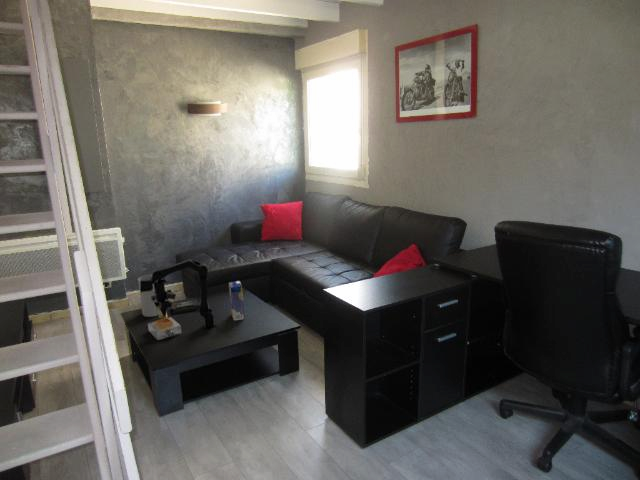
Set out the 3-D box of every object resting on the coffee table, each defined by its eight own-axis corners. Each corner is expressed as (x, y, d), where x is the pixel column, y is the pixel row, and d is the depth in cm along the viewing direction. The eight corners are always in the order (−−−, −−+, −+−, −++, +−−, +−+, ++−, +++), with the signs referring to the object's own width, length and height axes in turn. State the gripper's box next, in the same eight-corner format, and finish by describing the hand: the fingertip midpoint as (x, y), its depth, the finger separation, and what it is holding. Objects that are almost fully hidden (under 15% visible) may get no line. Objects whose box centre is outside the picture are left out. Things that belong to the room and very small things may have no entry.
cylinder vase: (156, 317, 290) (151, 281, 284) (138, 316, 292) (133, 280, 286) (166, 310, 301) (162, 275, 295) (149, 309, 304) (145, 274, 298)
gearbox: (183, 334, 264) (182, 323, 262) (159, 342, 256) (158, 330, 254) (171, 324, 279) (170, 314, 277) (148, 331, 270) (147, 320, 269)
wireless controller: (174, 315, 293) (171, 290, 289) (172, 308, 306) (169, 284, 302) (205, 310, 301) (203, 286, 297) (202, 303, 313) (200, 279, 309)
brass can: (168, 316, 266) (167, 305, 264) (160, 319, 263) (159, 307, 261) (165, 314, 269) (164, 303, 267) (157, 316, 266) (156, 305, 265)
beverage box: (241, 312, 294) (239, 280, 288) (244, 319, 284) (242, 286, 278) (231, 314, 292) (228, 282, 286) (233, 320, 281) (230, 287, 276)
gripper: (179, 290, 260) (182, 315, 263) (167, 282, 274) (170, 306, 278) (160, 295, 253) (163, 321, 257) (149, 287, 267) (152, 311, 271)
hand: (163, 314), depth 266 cm, fingers closed on brass can, 5 cm apart
